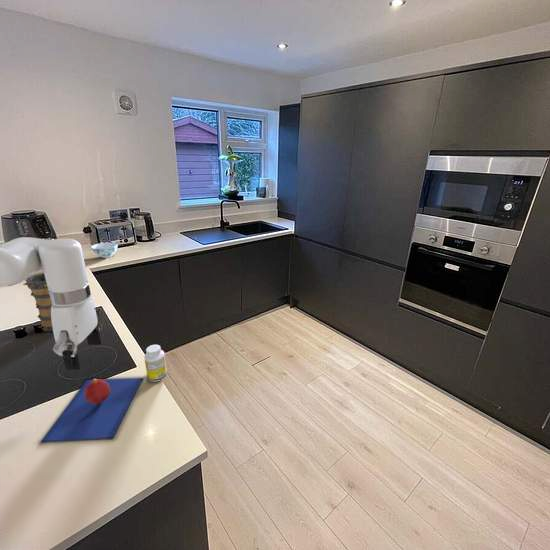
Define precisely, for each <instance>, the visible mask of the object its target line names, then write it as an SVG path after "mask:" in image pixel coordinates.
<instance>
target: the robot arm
mask: <svg viewBox="0 0 550 550" xmlns="http://www.w3.org/2000/svg"><path fill="white" fill-rule="evenodd" d="M86 268H87V267H86V264H85V259H84V253H83V248H82V245H81V243H80V242H79V241H78V240H77V239H72V238H53V239H46V238H38V237H30V236H29V237H27V236H24V237H17V238H14V239H11V240H9V241H7V242H4V243H1V244H0V287H13V286H16V285H18V284H20V283H22V282H24V281H26V280H27V278H29V277H31V276H32V275H33V274H36V273H38V272H39V271H43V273H44V275H45V279H46V283H47V286H48V291H49V294H50V298H51V302H52V304H53V305H52V306H51V321H52V327H53V331H52V332H53V337H54V342H55V343H54V345H53V347H52V351H53V352H54V353H55V355H56V356H58V357H61V358H62V360H63V363H64V368H65V370H67V371H68V370H69V371H70V370H71V371H72V370H73V371H74V370H78V371H80V370H81V369H82V363H81V361H80V360H81V359H80V356H79V353H77V350H78V345H80V344H81V343H82V342H84V341H85V340H86V341H87V345H89V346H100V345H102V343H103V342H102V337H101V332H100V329H101V325H99V324H100V322H101V319H100V309H96V307H95V303H94V299H93V298H92V293H91V288H90V283H89V279H88V273H87V269H86ZM69 341H70V342H69ZM68 346H71V349H70V350H68Z"/></svg>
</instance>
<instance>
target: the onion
mask: <svg viewBox="0 0 550 550" xmlns="http://www.w3.org/2000/svg"><path fill="white" fill-rule="evenodd" d="M101 379H102V378H98V379H97V378H94V379H92V380H93V381H92V382H90V383H89V384H88V386H87V387H86V389H85V393H84V395H85V398H86V400H87V401H88V402H90V403H92V404H100V403H102V402H103V401H104V400H105V399H106V398H107V397H108V396H109V394H110V386H109V384H108V383H107V382H106V381H104V380H101Z"/></svg>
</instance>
